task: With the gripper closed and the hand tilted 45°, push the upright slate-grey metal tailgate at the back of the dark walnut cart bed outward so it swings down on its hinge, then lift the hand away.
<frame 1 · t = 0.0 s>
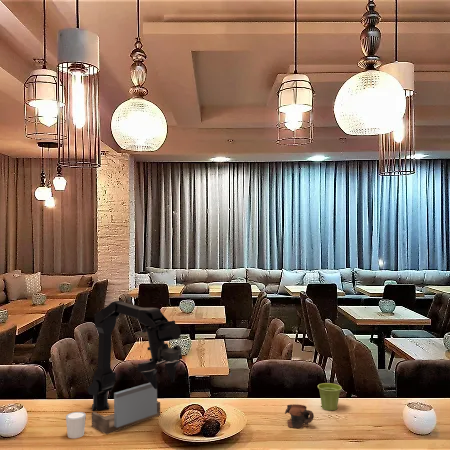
hand: (164, 385, 181), 15 cm above the table, tool pointing down, fingers open, 9 cm apart
pottery mug: (299, 424, 184), on the table
tailgate: (136, 403, 183), point 8 cm above the table, hinge at 0.0°
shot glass: (75, 435, 175), on the table
cart bed: (135, 424, 184), on the table
plant pot: (329, 408, 199), on the table
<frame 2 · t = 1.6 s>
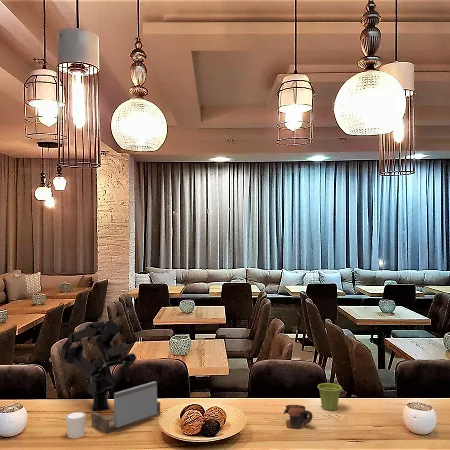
hand: (121, 382, 189), 14 cm above the table, tool tilted 45°, fingers open, 6 cm apart
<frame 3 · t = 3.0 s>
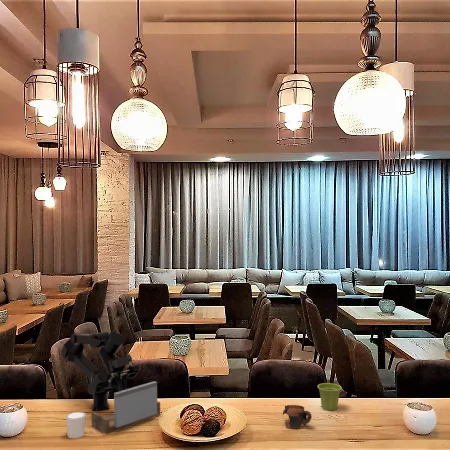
hand: (126, 394, 187), 10 cm above the table, tool tilted 45°, fingers closed
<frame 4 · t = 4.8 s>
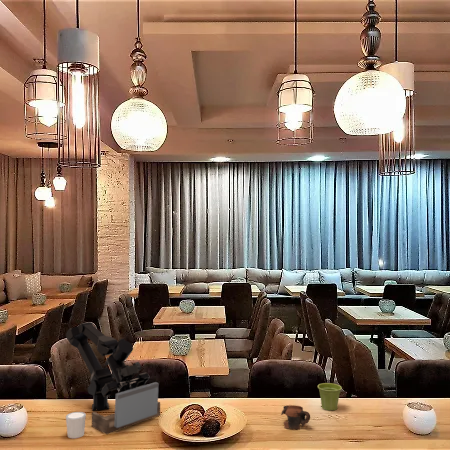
hand: (135, 403, 183), 8 cm above the table, tool tilted 45°, fingers closed, pressing on tailgate
tailgate: (137, 404, 183), point 8 cm above the table, hinge at 5.0°, touching gripper
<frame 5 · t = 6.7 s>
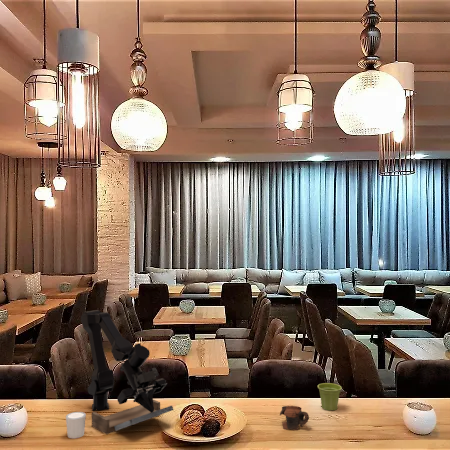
hand: (152, 411, 176), 8 cm above the table, tool tilted 45°, fingers closed
tailgate: (144, 418, 179), point 4 cm above the table, hinge at 62.9°
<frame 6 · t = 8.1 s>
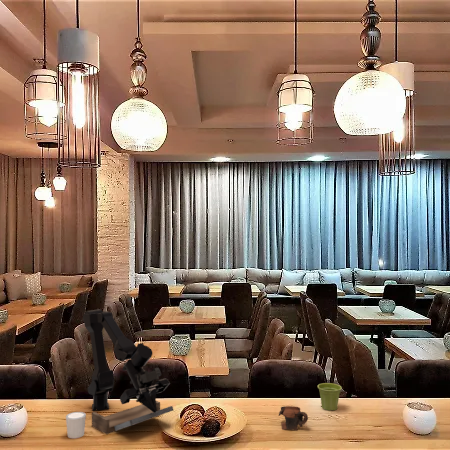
hand: (155, 411, 175), 8 cm above the table, tool tilted 45°, fingers closed
tailgate: (144, 418, 179), point 4 cm above the table, hinge at 63.5°
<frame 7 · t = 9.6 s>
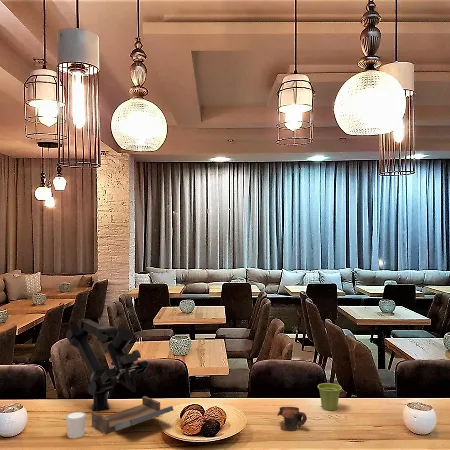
hand: (134, 391, 184), 12 cm above the table, tool tilted 45°, fingers closed
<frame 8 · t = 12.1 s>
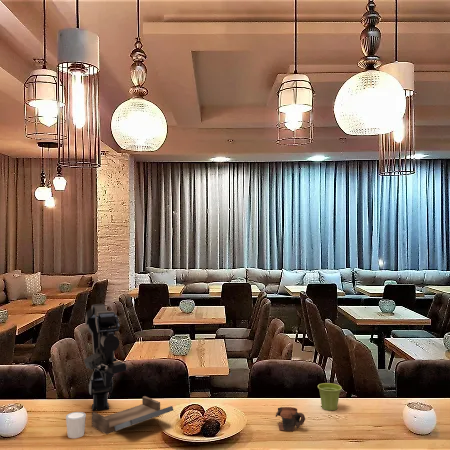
hand: (106, 386, 187), 13 cm above the table, tool pointing down, fingers closed
at the end: tailgate at +64° (first picture: +0°); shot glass moved 0.2 cm from its start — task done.
